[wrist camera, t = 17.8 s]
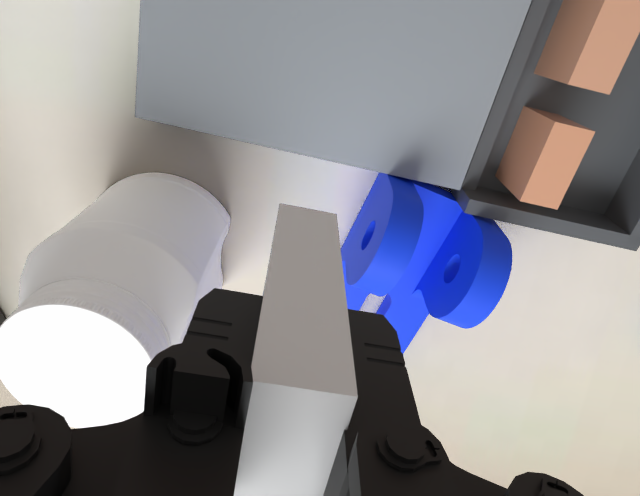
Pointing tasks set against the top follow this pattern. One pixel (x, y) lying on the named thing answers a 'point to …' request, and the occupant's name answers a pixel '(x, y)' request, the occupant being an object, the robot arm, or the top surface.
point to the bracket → (423, 257)
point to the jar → (112, 297)
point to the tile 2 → (590, 43)
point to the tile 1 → (543, 157)
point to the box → (597, 163)
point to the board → (332, 76)
